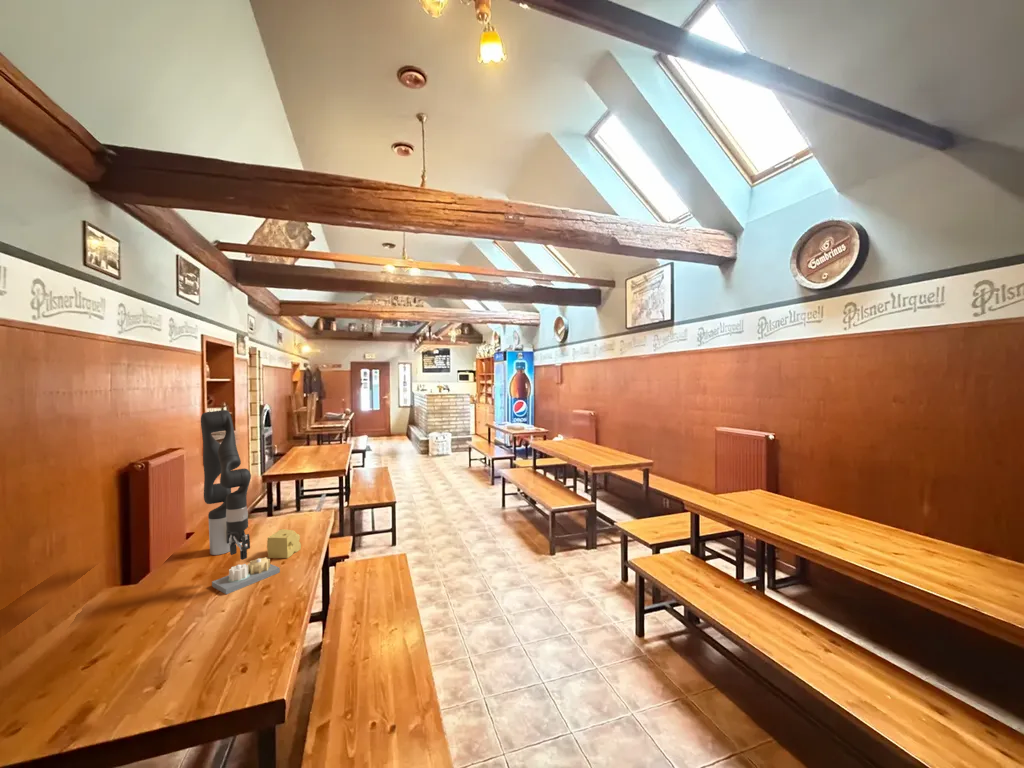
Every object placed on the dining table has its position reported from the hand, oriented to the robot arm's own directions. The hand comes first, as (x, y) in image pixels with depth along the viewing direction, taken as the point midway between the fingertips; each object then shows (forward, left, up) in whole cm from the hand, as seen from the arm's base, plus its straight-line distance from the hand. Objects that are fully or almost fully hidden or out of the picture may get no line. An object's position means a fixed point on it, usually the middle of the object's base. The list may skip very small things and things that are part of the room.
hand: (238, 556), depth 175 cm
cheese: (-11, +25, -11) cm, 29 cm away
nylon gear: (0, 0, -9) cm, 9 cm away
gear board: (0, +3, -11) cm, 11 cm away
